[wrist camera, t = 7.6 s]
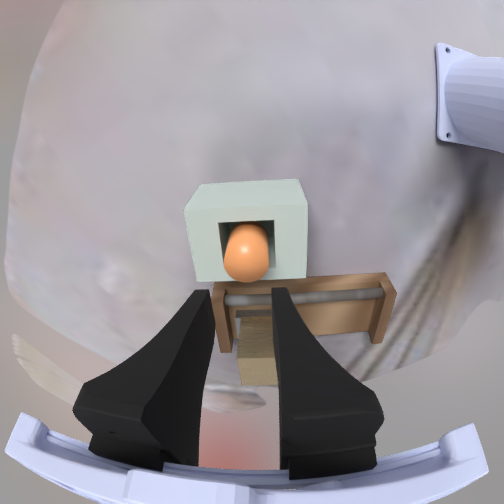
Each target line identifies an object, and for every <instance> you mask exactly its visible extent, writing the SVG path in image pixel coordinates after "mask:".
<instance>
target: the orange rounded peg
mask: <svg viewBox="0 0 504 504" xmlns="http://www.w3.org/2000/svg"><path fill="white" fill-rule="evenodd" d="M268 267H269V254H268V234H267V231H266V229H265V228H264V227H263V226H262V225H261V224H260V223H258V222H255V221H241V222H239V223H237V224H236V225H235V226H234V227H233V228H232V229H231V232H230V235H229V239H228V244H227V248H226V253H225V257H224V268H225V271H226V272H227V274H228V275H229V276H230V277H231V278H233V279H235V280H237V281H239V282H245V283H248V282H254V281H257V280H259V279H261V278H262V277H263V276H264V275H265V274H266V272H267V270H268Z"/></svg>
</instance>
